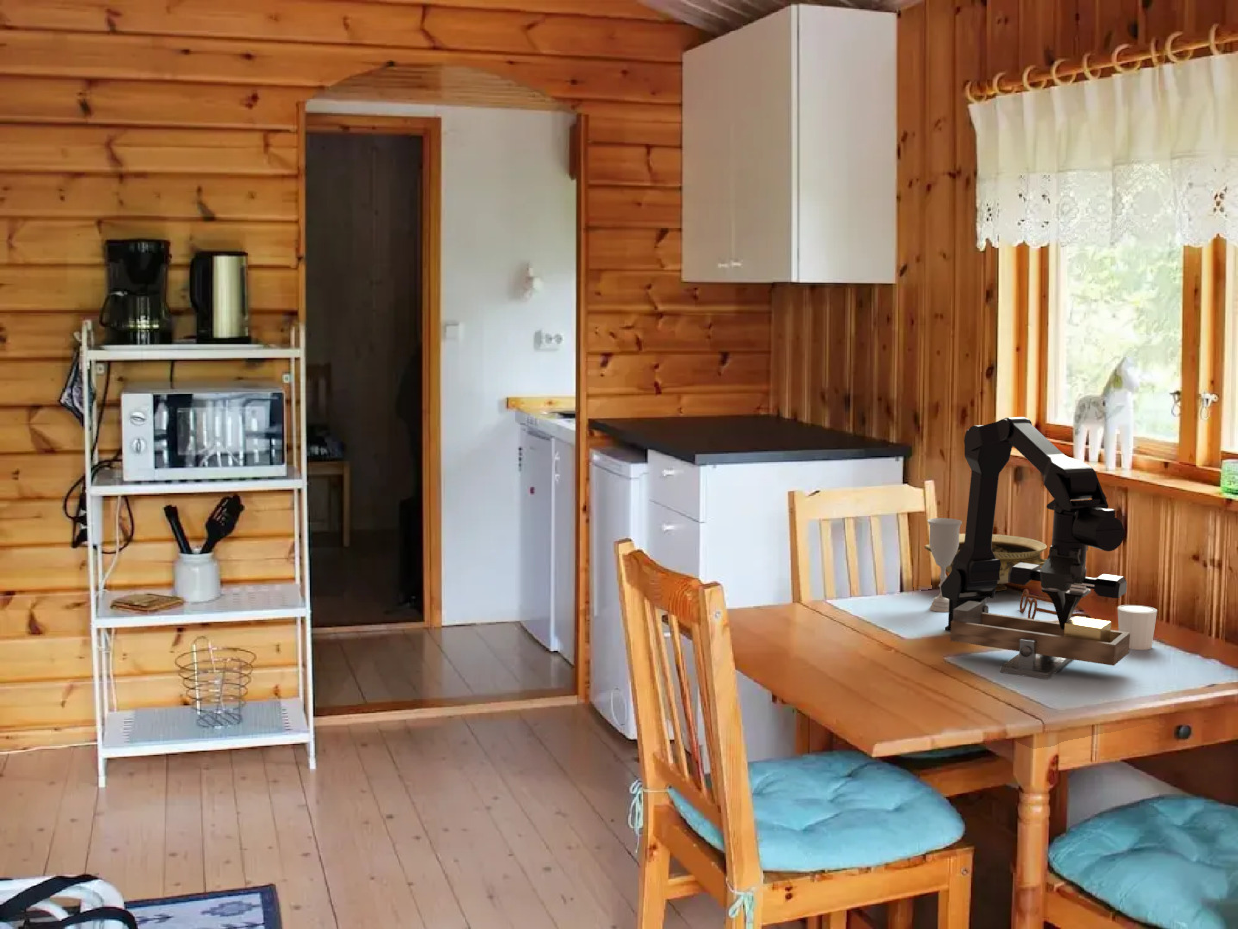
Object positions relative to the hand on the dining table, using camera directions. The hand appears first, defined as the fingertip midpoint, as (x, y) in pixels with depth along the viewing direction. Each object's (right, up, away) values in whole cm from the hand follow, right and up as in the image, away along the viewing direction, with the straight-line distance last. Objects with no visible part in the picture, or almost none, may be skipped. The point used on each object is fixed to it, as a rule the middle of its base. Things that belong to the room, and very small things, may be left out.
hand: (1063, 629), depth 250 cm
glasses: (+11, -3, +39) cm, 40 cm away
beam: (-3, -3, +3) cm, 5 cm away
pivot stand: (-4, -7, +3) cm, 8 cm away
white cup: (+18, -5, +16) cm, 25 cm away
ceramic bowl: (+4, +1, +66) cm, 66 cm away
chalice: (-11, -1, +45) cm, 47 cm away
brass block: (+3, -3, -2) cm, 5 cm away
